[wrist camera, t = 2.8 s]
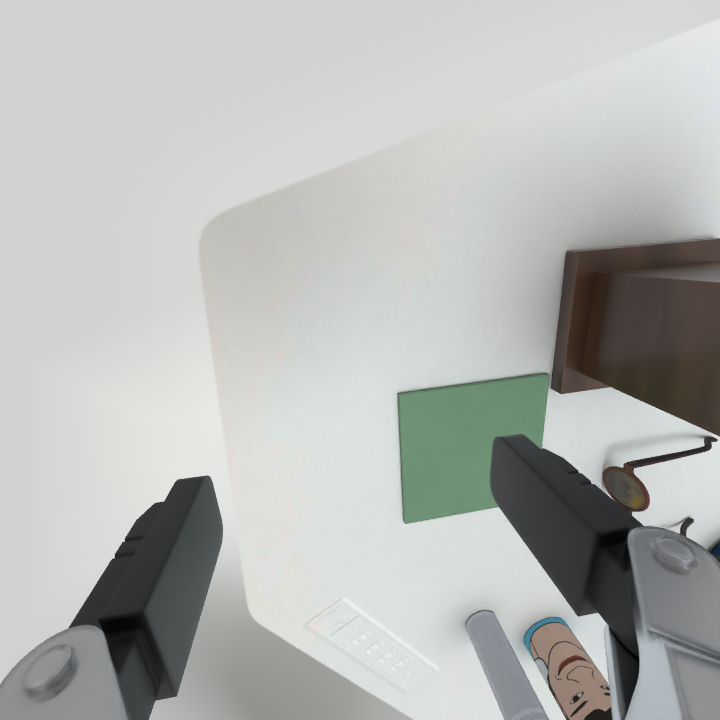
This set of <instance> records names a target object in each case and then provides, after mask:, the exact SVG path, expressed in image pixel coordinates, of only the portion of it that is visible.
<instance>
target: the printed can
mask: <svg viewBox="0 0 720 720" xmlns="http://www.w3.org/2000/svg"><path fill="white" fill-rule="evenodd" d="M524 643H525V645H526V647H527V649H528V651H529V653H530V654H531V656H532V658H533V660H534V662H535V664H536V665H537V667H538V669H539V671H540V673H541V674H542V676H543V678H544V680H545V682H546V683H547V685H548V687H549V689H550V691H551V693H552V694H553V696H554V698H555V700H556V702H557V703H558V705H559V707H560V709H561V711H562V712H563V714H564V716H565V718H566V720H613V719H612V709H611V699H610V689H609V684H608V683H607V681H606V680H605V679H604V677H603V676H602V674H601V673H600V671H599V670H598V668H597V667H596V666H595V664H594V663H593V661H592V660H591V658H590V657H589V655H588V654H587V653H586V651H585V650H584V648H583V647H582V645H581V644H580V642H579V641H578V640H577V638H576V637H575V635H574V634H573V632H572V631H571V629H570V628H569V627H568V625H567V624H566V622H565V621H563V620H562V619H560V618H548V619H544V620H542V621H540V622H538V623H536V624H535V625H533V626H532V627H531V628H530V629H529V630H528V632H527V633H526V635H525V638H524Z"/></svg>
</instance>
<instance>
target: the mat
mask: <svg viewBox="0 0 720 720" xmlns="http://www.w3.org/2000/svg"><path fill="white" fill-rule="evenodd" d="M549 376H550V375H549V374H547V373H544V374H537V375H530V376H522V377H515V378H507V379H500V380H493V381H485V382H478V383H470V384H463V385H456V386H448V387H441V388H433V389H426V390H419V391H411V392H404V393H398V405H399V427H400V449H401V472H402V494H403V516H404V523H405V524H407V523H413V522H418V521H424V520H429V519H435V518H440V517H446V516H451V515H457V514H462V513H468V512H473V511H479V510H484V509H490V508H495V507H499V506H498V505H497V503H496V502H495V500H494V498H493V495H492V492H491V488H490V470H491V457H492V444H493V440H494V438H495V437H500V436H507V435H514V434H524V435H525V436H527V437H528V438H529V439H530V440H531V441H532V442H533V443H534V444H536V445H537V446H538V447H539V448H540V449H541V448H542V439H543V430H544V421H545V412H546V403H547V394H548V385H549Z"/></svg>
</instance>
